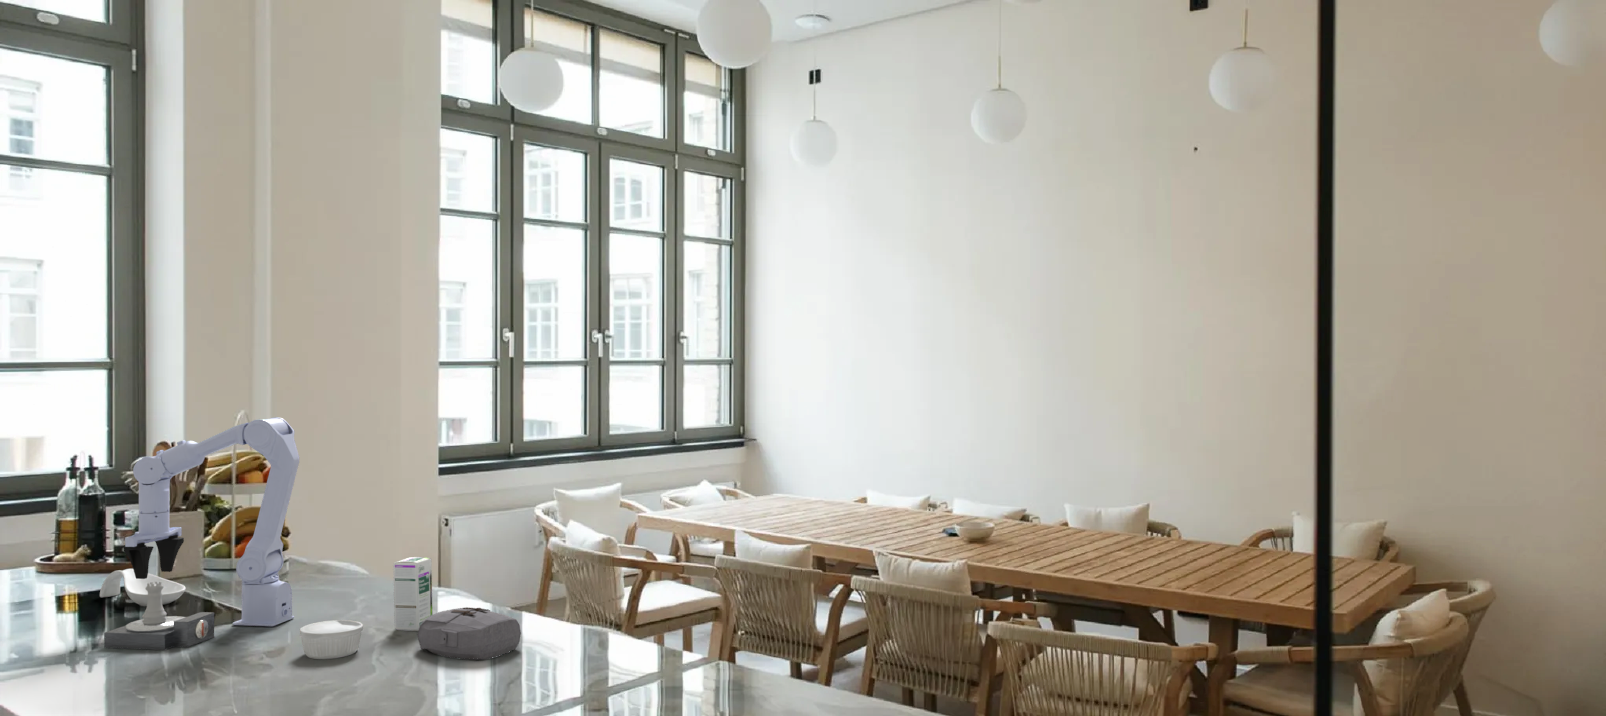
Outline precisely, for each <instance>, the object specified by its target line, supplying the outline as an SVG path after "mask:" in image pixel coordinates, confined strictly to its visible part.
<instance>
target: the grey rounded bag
mask: <svg viewBox="0 0 1606 716" xmlns="http://www.w3.org/2000/svg"><path fill="white" fill-rule="evenodd" d="M521 634H522V630H521V626H520V622H519V621H518V620H517V619H516V618H514V617H512V616H511V617H510V616H508V615H506V614H503V613H499V612H496V611H495V612H494V611H491V610H490V609H485V608H481V607H467V606H466V607H459V608H458V607H457V608H452V609H447V610H442V611H439V612H436V613H434V614H433V613H432V615H431V616H429V617H428V618H427V619H426V620H424V621H423V622H422V624H421V625H420V627H419V630H418V631H417V634H416V635H417V640H418V642H419V646H420V649H421V650H427V651H428V652H430V653H432V654H433V655H438V656H441V657H445V658H450V657H451V658H450V659H452V658H453V659H457V658H460V659H459V660H490V659H489V658H491V659H493V658H492V657H495V658H497V657H496V656H498V657H500V656H499V655H501V654H504V655H506V654H505V653H507V654H509V653H510V652H509V651H511V650H513V651H514V650H515V649H517V647H518V645H519V643H520V642H521ZM508 652H509V653H508ZM511 652H512V651H511ZM501 656H502V655H501Z"/></svg>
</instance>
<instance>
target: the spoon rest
mask: <svg viewBox="0 0 1606 716" xmlns="http://www.w3.org/2000/svg"><path fill="white" fill-rule="evenodd" d="M122 577H123V584H124V590H125V593H126V594H127V596H128V597H129V598H130V600H131V601H132V602H133V603H135V604H137V605H139V606H140V607H147V602H148V597H147V595H148V591H147V590H146V589H145V588H146V587H147V583H150V582H153V584H155V582H158V583H159V582H162V586H163V587H164V588H163V589H162V590H161V593H162V594H163V595H162V596H161V600H162V606H163V605H168V604H170V603H172V602H175V601H176V600H178V599H179V598H180V597H181V596H182V595H183V594H184V593H185V591H186V586H185V585H184V584H183V583H182V584H181V583H179V582H176V581H173V580H169V579H167V578H163V577H160V576H158V575H155V574H152V573H149V572H148V575H147V578H146V579H136V577H135V573H134V570H133V568H126V569H123V570H120V569H119V570H114V571H112V572H111V573H109V574H108V575H107V576H106V578H104V581H103V583H102V585H101V588H100V592H99V597H100V598H108V597H110V598H111V597H114V596H118V595H120V594H121V580H122Z"/></svg>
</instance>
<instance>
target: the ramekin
mask: <svg viewBox="0 0 1606 716" xmlns="http://www.w3.org/2000/svg"><path fill="white" fill-rule="evenodd" d="M363 629H364V624H363V623H362V622H360V621H355V620H349V619H348V620H347V619H333V620H324V621H318V622H317V621H316V622H314V623H309V624H306V625H304V626H302V627H300V628H299V636H300V637H301V643H302V649H303V653H304V655H305V656H306V657H307V658H310V659H313V660H314V659H315V660H331V659H339V658H344V657H347V656H351V655H354V654H356V652H357V650H359V648H360V647H359V646H360V641H361V636H362V631H363Z"/></svg>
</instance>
